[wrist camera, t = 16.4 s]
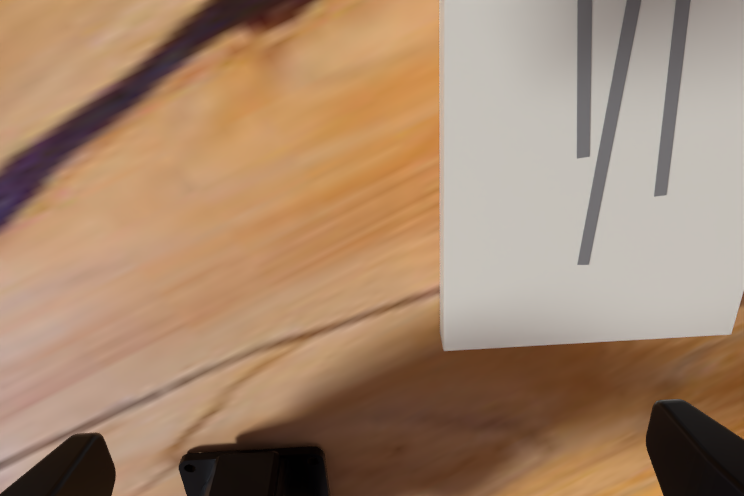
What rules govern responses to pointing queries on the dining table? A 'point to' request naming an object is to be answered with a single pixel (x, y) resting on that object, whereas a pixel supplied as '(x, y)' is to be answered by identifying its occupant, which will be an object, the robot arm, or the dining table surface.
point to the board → (590, 170)
